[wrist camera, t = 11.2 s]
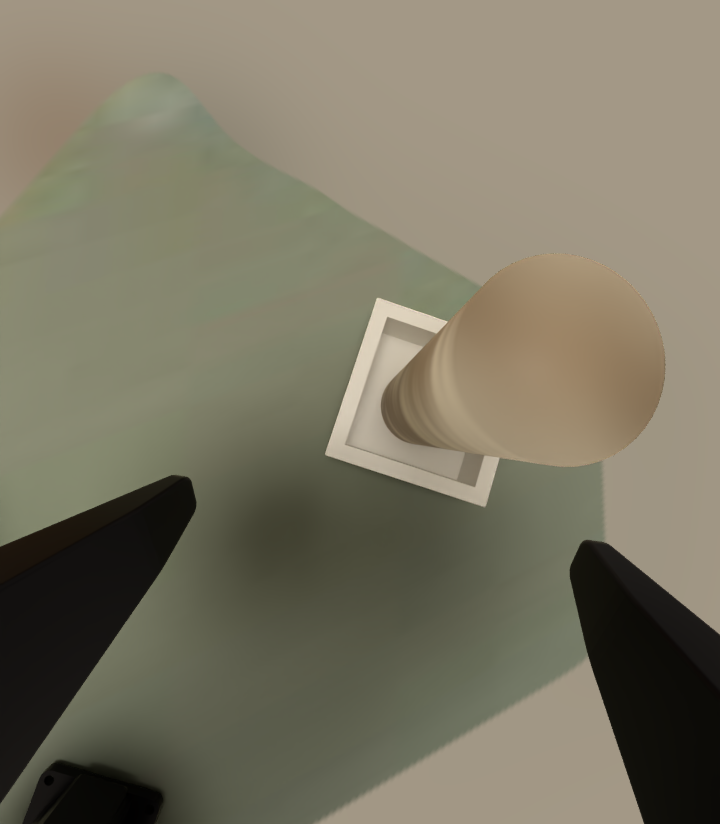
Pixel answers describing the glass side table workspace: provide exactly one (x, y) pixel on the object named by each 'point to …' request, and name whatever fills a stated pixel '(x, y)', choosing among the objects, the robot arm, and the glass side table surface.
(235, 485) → the glass side table surface
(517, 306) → the tan rounded rod
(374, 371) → the white square tray
